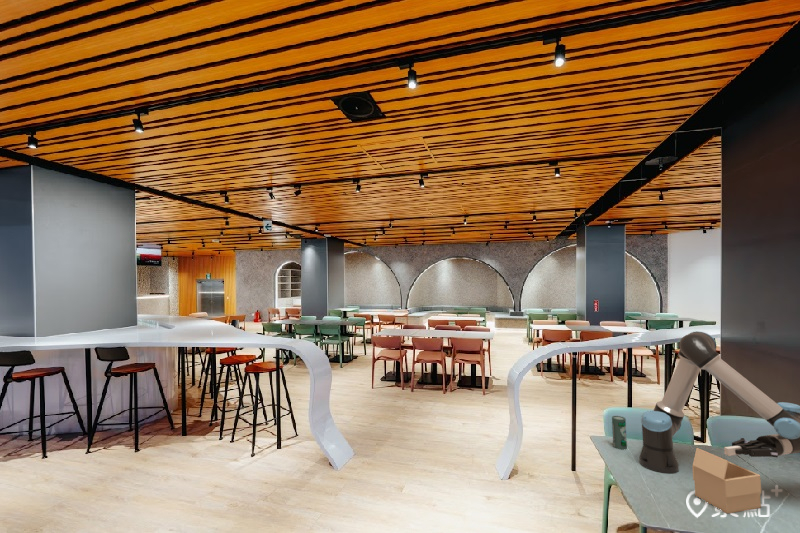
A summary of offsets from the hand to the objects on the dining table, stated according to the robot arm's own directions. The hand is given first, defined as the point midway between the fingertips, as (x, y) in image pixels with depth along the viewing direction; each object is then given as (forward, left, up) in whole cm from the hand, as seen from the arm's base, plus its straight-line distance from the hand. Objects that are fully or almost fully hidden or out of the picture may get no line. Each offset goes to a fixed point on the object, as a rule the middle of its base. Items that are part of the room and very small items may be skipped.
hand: (726, 451), depth 147 cm
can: (-43, +30, -19) cm, 56 cm away
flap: (-5, -6, -4) cm, 9 cm away
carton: (-1, -1, -19) cm, 19 cm away
